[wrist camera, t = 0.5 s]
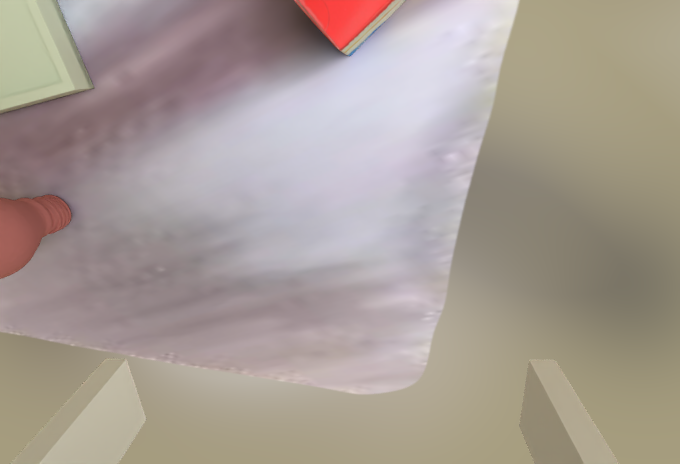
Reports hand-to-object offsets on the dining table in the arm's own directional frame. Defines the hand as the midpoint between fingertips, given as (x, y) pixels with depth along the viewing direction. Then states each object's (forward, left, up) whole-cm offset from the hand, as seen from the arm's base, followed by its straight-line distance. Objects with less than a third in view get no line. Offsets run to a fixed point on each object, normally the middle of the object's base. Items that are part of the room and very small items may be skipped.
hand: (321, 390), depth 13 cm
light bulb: (-4, -31, -27) cm, 41 cm away
